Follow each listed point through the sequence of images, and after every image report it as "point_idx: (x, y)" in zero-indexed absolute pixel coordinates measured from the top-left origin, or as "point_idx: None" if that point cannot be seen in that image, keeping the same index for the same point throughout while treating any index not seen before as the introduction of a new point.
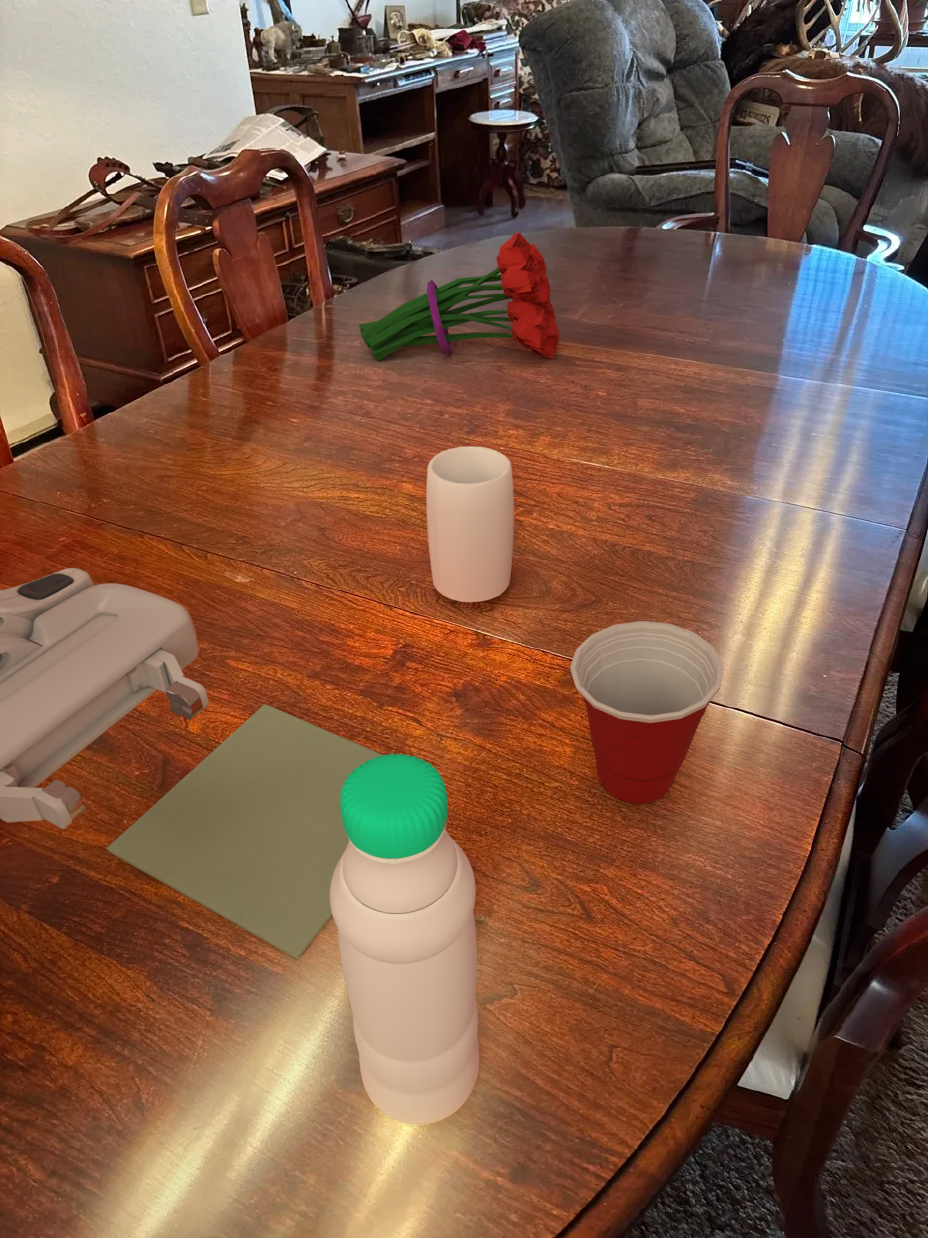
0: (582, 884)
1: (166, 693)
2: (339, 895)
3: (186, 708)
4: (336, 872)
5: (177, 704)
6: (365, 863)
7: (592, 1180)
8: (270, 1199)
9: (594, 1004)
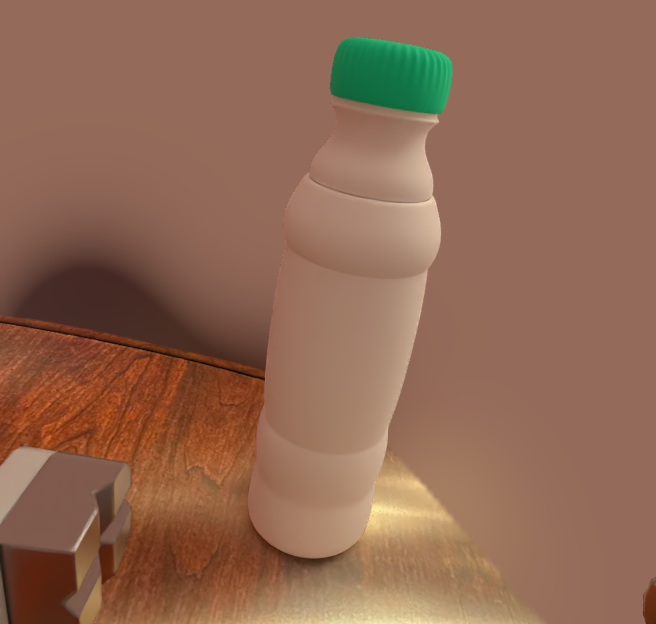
0: (42, 441)
1: (75, 567)
2: (430, 215)
3: (115, 517)
4: (409, 217)
5: (93, 561)
6: (424, 147)
7: None
8: (486, 587)
9: (187, 417)
